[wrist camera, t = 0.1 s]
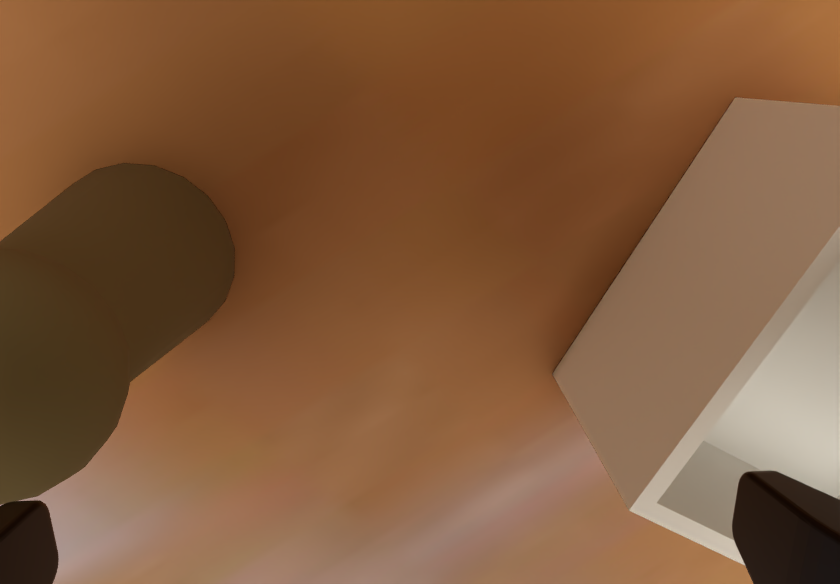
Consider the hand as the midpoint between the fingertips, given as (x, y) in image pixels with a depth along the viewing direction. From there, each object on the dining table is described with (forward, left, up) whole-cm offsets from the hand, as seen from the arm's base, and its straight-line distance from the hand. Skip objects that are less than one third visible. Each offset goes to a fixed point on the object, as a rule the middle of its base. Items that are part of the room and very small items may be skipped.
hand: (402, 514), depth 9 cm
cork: (0, +8, -15) cm, 17 cm away
